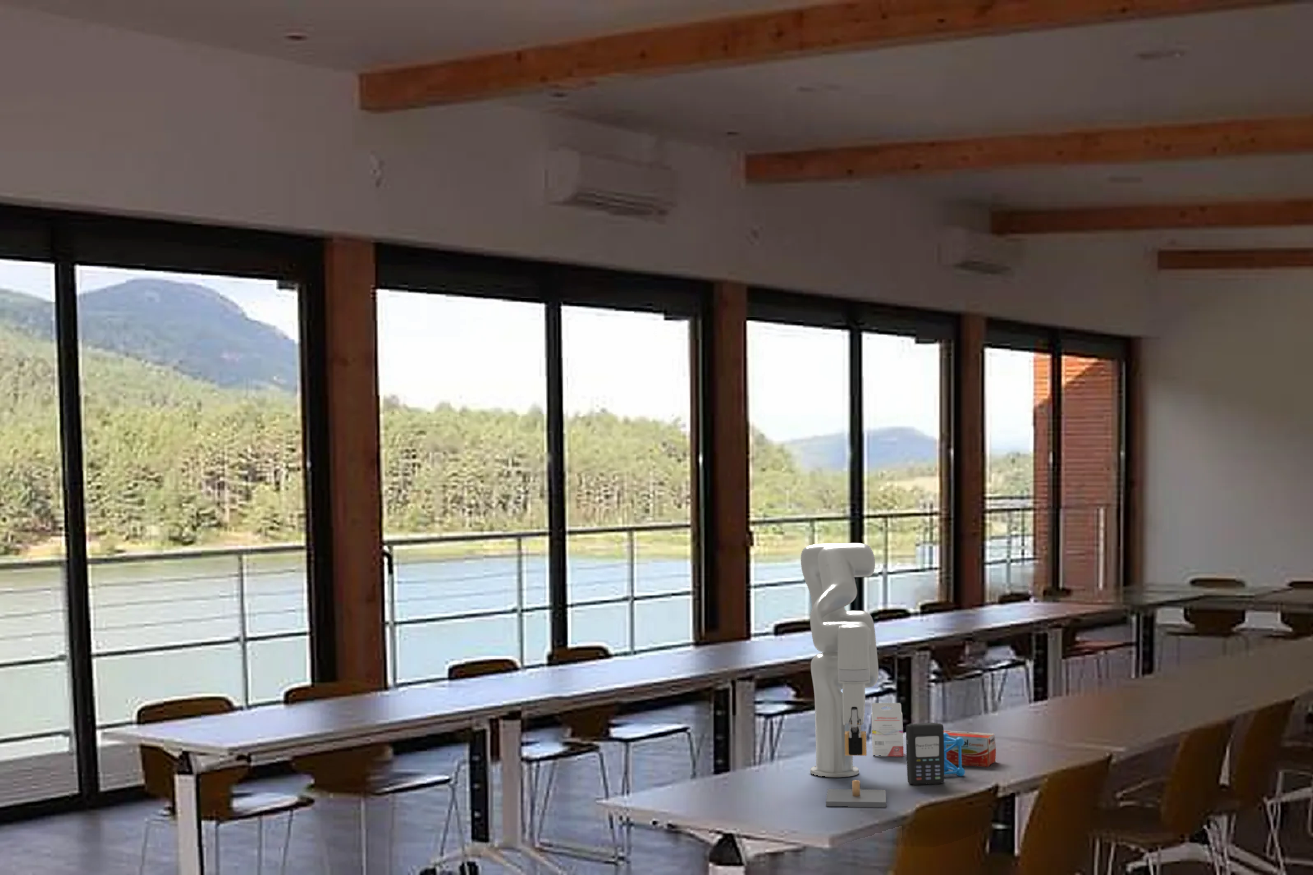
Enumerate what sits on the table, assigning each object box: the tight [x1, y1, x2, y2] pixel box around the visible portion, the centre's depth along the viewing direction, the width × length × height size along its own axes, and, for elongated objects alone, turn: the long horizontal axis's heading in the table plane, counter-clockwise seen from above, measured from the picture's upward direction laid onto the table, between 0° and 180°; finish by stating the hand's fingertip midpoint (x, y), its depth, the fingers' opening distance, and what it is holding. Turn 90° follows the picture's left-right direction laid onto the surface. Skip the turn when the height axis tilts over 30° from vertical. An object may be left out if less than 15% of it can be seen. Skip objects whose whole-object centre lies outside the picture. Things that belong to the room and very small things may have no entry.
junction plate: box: [825, 779, 887, 808], centre depth 367 cm, size 14×14×5 cm
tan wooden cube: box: [845, 730, 868, 757], centre depth 366 cm, size 5×5×5 cm
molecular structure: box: [944, 733, 966, 777], centre depth 396 cm, size 10×10×10 cm
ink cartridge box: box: [870, 702, 904, 758], centre depth 425 cm, size 9×5×15 cm, turn 81°
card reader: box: [905, 722, 945, 786], centre depth 385 cm, size 9×4×15 cm, turn 99°
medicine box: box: [944, 730, 997, 768], centre depth 412 cm, size 15×8×8 cm, turn 65°
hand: (855, 752), depth 366 cm, fingers closed on tan wooden cube, 5 cm apart
